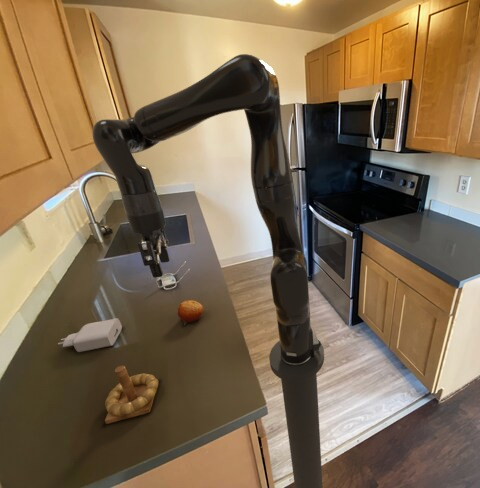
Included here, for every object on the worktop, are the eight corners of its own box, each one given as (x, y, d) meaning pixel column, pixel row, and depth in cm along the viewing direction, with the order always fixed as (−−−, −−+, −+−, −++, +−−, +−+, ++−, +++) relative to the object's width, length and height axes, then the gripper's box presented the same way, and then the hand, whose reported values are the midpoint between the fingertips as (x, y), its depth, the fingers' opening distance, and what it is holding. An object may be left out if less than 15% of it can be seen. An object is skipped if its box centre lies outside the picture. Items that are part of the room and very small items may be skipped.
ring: (162, 373, 75) (160, 367, 74) (153, 409, 65) (150, 402, 64) (116, 385, 72) (113, 378, 71) (100, 424, 62) (96, 417, 61)
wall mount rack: (155, 278, 124) (151, 266, 122) (187, 269, 131) (184, 258, 129) (159, 293, 112) (155, 281, 110) (194, 283, 119) (191, 271, 117)
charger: (70, 337, 90) (122, 327, 94) (54, 358, 82) (112, 347, 86) (64, 326, 88) (118, 316, 92) (47, 346, 80) (106, 335, 84)
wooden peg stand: (158, 381, 74) (146, 350, 69) (149, 412, 66) (135, 379, 61) (120, 391, 72) (105, 359, 67) (106, 424, 64) (88, 390, 59)
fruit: (170, 317, 96) (178, 296, 96) (192, 317, 102) (200, 298, 102) (177, 328, 91) (186, 306, 90) (201, 328, 96) (208, 307, 96)
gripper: (154, 216, 61) (172, 279, 68) (167, 201, 74) (181, 255, 80) (115, 220, 59) (138, 285, 66) (135, 204, 72) (153, 259, 78)
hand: (162, 268), depth 73 cm, fingers open, 8 cm apart
